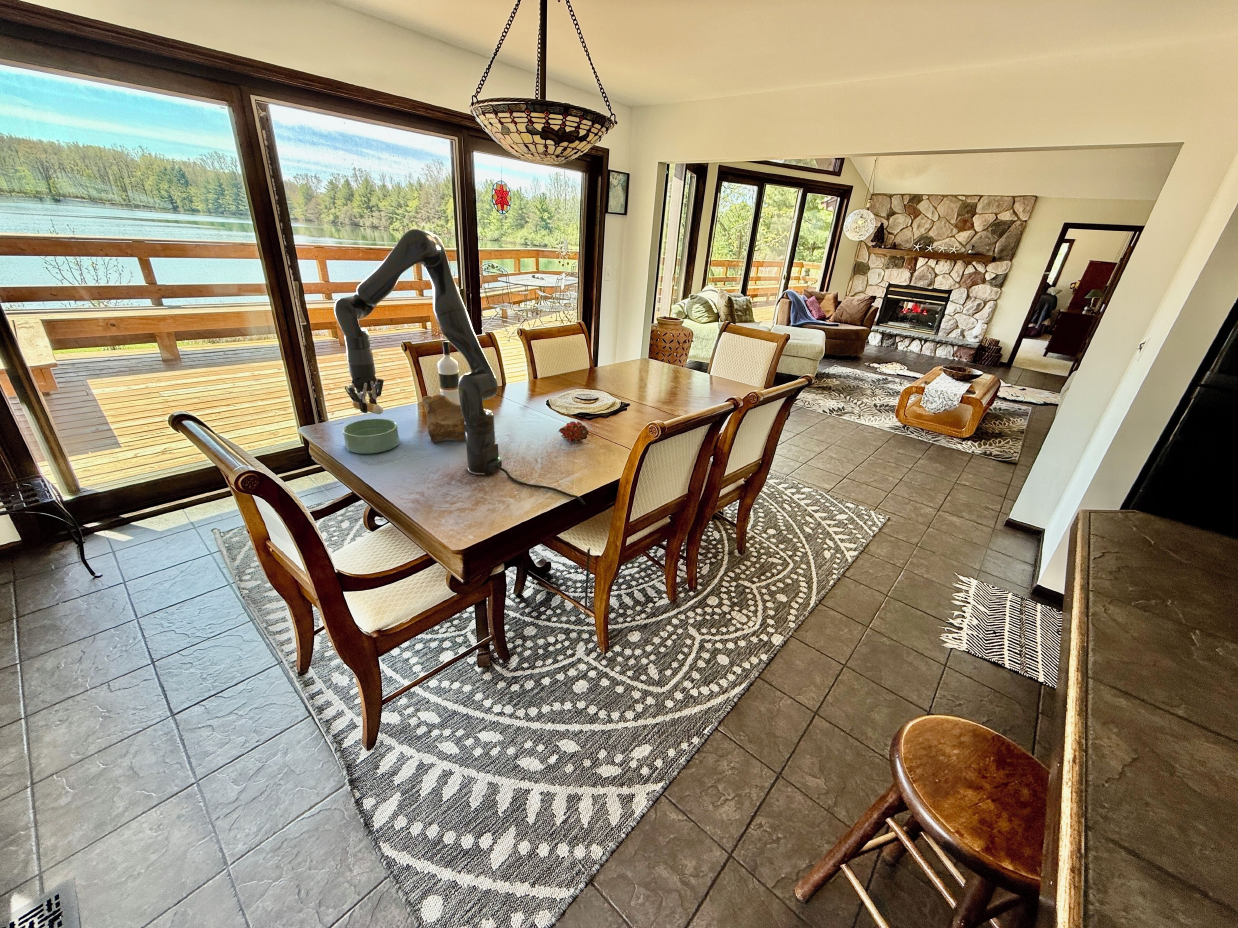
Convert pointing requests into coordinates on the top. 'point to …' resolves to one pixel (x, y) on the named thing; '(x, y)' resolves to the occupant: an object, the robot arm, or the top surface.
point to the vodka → (448, 375)
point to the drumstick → (370, 407)
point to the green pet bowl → (371, 435)
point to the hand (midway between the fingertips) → (369, 410)
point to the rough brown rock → (443, 419)
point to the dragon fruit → (574, 431)
